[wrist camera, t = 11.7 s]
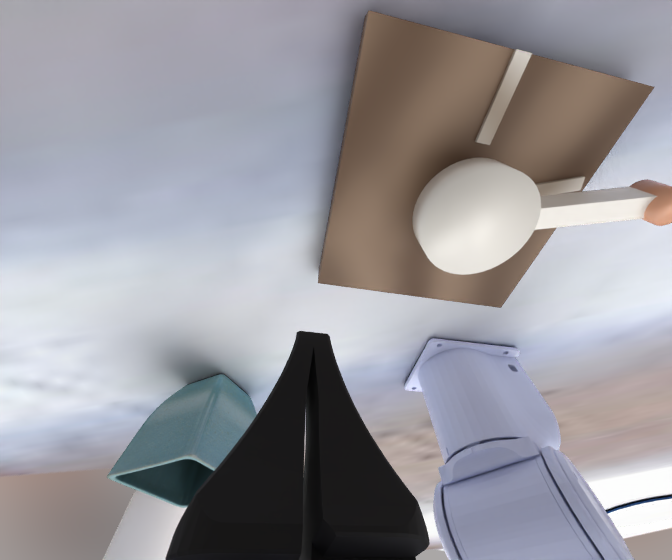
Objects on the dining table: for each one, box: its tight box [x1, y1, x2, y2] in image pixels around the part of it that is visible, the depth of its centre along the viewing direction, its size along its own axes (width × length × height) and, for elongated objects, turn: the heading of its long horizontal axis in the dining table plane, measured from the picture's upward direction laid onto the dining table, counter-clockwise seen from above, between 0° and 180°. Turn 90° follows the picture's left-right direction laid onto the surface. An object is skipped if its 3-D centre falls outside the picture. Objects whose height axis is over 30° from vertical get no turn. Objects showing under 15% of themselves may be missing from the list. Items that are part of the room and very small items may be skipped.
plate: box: [607, 496, 672, 534], centre depth 61 cm, size 25×25×1 cm
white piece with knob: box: [413, 158, 672, 275], centre depth 15 cm, size 13×6×2 cm, turn 96°
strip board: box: [318, 11, 654, 308], centre depth 18 cm, size 15×15×3 cm
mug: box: [103, 490, 186, 560], centre depth 41 cm, size 10×12×12 cm
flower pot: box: [107, 374, 257, 508], centre depth 27 cm, size 9×9×9 cm
